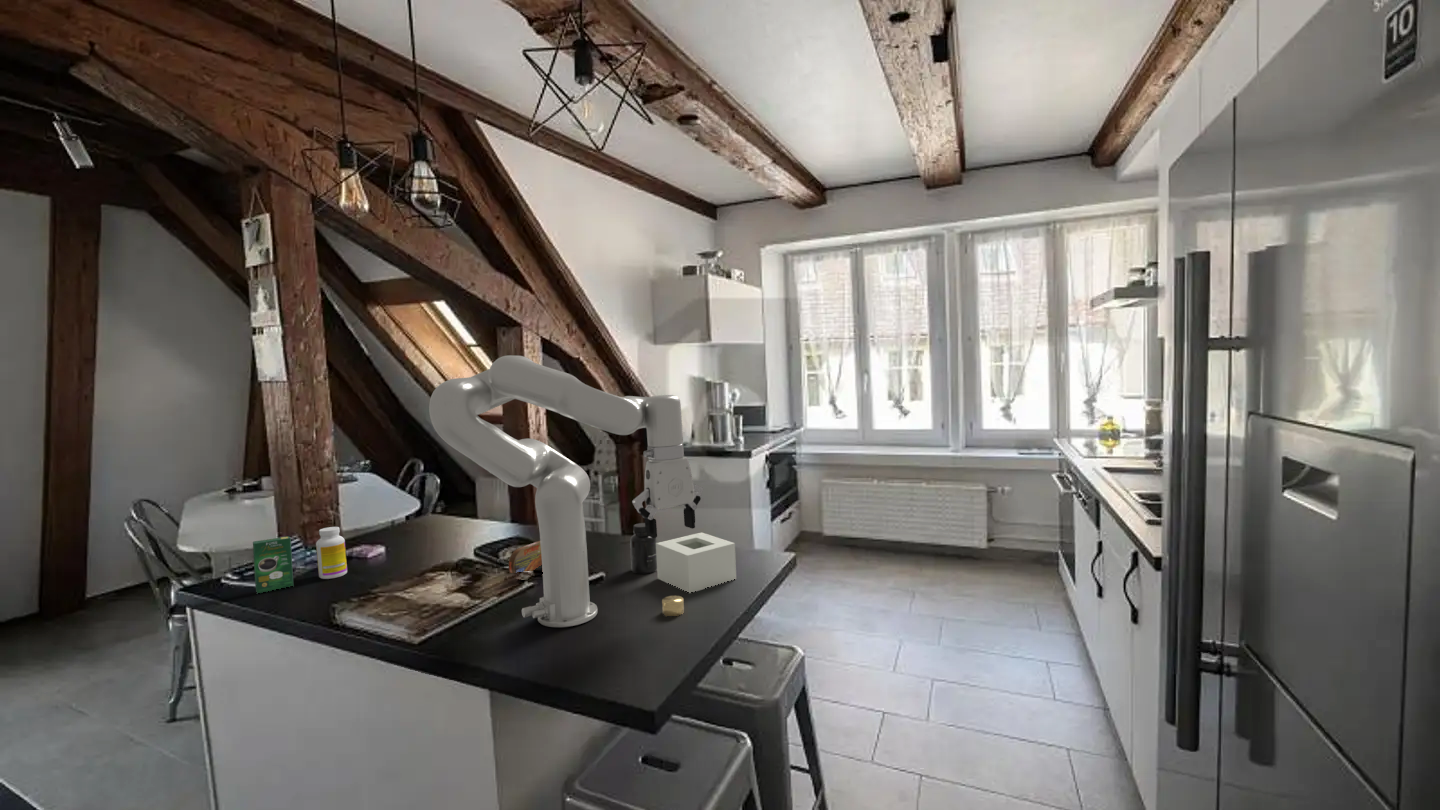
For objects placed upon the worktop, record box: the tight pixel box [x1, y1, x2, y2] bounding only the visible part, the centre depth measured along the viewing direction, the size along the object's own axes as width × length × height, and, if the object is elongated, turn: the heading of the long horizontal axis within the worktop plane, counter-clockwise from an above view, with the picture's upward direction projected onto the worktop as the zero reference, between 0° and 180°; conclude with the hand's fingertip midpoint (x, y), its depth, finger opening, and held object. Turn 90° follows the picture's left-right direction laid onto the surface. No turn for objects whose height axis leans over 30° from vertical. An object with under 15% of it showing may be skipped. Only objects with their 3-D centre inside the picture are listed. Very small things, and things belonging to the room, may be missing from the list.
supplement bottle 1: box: [315, 526, 348, 580], centre depth 174 cm, size 7×7×13 cm
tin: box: [508, 540, 542, 574], centre depth 168 cm, size 15×3×8 cm, turn 148°
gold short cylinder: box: [661, 595, 685, 617], centre depth 139 cm, size 5×5×3 cm
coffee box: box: [252, 535, 295, 595], centre depth 164 cm, size 8×3×13 cm, turn 129°
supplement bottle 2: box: [629, 522, 658, 575], centre depth 168 cm, size 7×7×12 cm
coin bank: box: [656, 531, 737, 594], centre depth 160 cm, size 14×14×9 cm
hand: (671, 531), depth 139 cm, fingers open, 9 cm apart
